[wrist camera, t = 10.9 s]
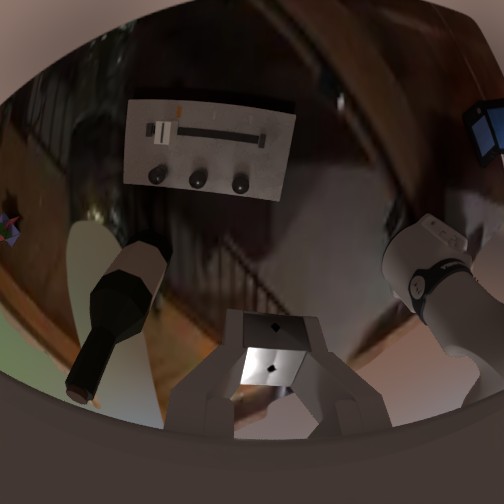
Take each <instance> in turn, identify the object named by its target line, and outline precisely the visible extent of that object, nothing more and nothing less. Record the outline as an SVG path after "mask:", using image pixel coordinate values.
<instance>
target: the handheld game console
mask: <svg viewBox="0 0 504 504" xmlns="http://www.w3.org/2000/svg"><path fill="white" fill-rule="evenodd" d="M463 121H464V123H465V126H466V128H467V131H468V133H469V136H470V138H471V141H472V144H473V147H474V149H475V152H476V155H477V158H478V161H479V164H480V166H481V167H482V168H485V167H487V166H488V165H489V163H490V162H491V161H492V160H493V159H494V158H495V157H496V156H497V155H501V154H504V98H501V99H493V100H486V101H478V102H477V103H476V104H475V105H473V106H472V107H471V108H470V109H469V110H468V111H466V112H465V113H464V114H463Z"/></svg>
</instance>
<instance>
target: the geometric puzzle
mask: <svg viewBox="0 0 504 504" xmlns="http://www.w3.org/2000/svg"><path fill="white" fill-rule="evenodd" d="M6 213H7V212H6ZM9 214H10V213H9ZM12 215H13V214H12ZM15 216H16V215H15ZM18 217H19V216H18ZM18 217H15V218H12V219H10V218H9V217H8V216H7V215H6V214H5V212H4V211H3V213H2V215H1V216H0V242H1V241H4V239H5V240H6V241H7V243H8V244H9V245H10V246H11V248H12V246H13V245H14V243H15V241H16V240H17V238H18V237H19V235H20V234H21V233H20V232H19V231H18V229H17V228H16V227H15V225H14V224H15V222H16V220H17V219H18ZM19 224H20V223H19ZM8 247H9V246H8Z"/></svg>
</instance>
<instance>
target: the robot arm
mask: <svg viewBox="0 0 504 504" xmlns="http://www.w3.org/2000/svg"><path fill="white" fill-rule="evenodd" d="M432 221H433V222H432ZM431 222H432V223H431ZM466 250H467V239H466V238H465V237H464V236H463V235H462V234H460V233H459V232H457V231H456V230H454V229H453V228H451V227H450V226H448V225H447V224H445V223H444V222H442V221H441V220H439V219H438V218H436V217H434V216H433V215H431V214H429V213H428V214H425V215H424V216H423V217H422V218H421V219H420V220H419V221H418V222H417V223H415V224H413V225H411V226H409V227H407V228H405V229H404V230H402V231H401V232H400V233H399V234H397V235H396V236H395V238H394V239H393V240H392V241H391V243H390V244H389V246H388V247H387V249H386V252H385V254H384V257H383V262H382V271H383V275H384V278H385V279H386V281H387V282H388V283H389V284H390V286H391V292H392V295H393V296H394V297H395V298H400V299H401V300H402V301H403V302H404V303H405V304H406V306H407V307H408V308H409V309H410V310H411V311H412V312H413V313H415V312H416V315H417V316H418V318H419V319H420V320H421V321H422V322H423V323H424V324H425V325H427V326H428V327H429V328H430V330H431V332H432V333H433V335H434V336H435V338H436V339H437V341H438V343H439V344H440V346H441V347H442V349H443V351H444V352H445V353H446V354H447V355H449V356H451V357H465V356H468V357H469V358H471V359H472V360H473V361H474V362H475V363H476V364H477V366H478V368H479V370H480V376H479V378H478V379H477V381H476V382H475V384H474V385H473V387H472V388H471V390H470V391H469V393H468V394H467V396H466V397H465V399H464V401H463V404H462V406H461V408H458V409H455V410H453V411H450V412H447V413H444V414H440V415H438V416H434V417H431V418H427V419H424V420H420V421H417V422H413V423H409V424H405V425H400V426H396V427H392V424H391V421H390V418H389V415H388V412H387V409H386V407H385V404H384V401H383V398H382V395H381V394H380V393H378V392H377V391H376V390H375V389H374V388H373V387H371V386H370V385H369V384H368V383H367V382H366V381H364V380H363V379H362V378H361V377H360V376H359V375H358V374H357V373H355V372H354V371H353V370H352V369H351V368H350V367H349V366H347V365H346V364H345V363H344V362H343V361H342V360H341V359H339V358H338V357H337V356H336V355H335V354H334V353H333V352H328V349H327V346H326V343H325V339H324V336H323V333H322V330H321V326H320V323H319V320H318V318H317V317H311V316H302V317H301V316H290V315H277V314H268V313H259V312H251V311H244V310H243V311H242V310H234V309H227V312H226V319H225V326H224V334H223V342H222V345H219V346H218V347H217V348H216V349H215V350H214V351H213V352H212V353H211V354H210V355H208V356H207V357H206V358H205V359H204V360H203V361H202V362H201V363H200V364H199V365H198V366H197V367H196V368H195V369H193V370H192V371H191V372H190V373H189V374H188V375H187V376H186V377H185V378H184V379H183V380H181V381H180V382H179V383H178V384H177V385H176V386H175V387H174V388H173V389H171V394H170V399H169V404H168V409H167V414H166V419H165V424H164V430H163V429H158V428H153V427H148V426H143V425H139V424H135V423H131V422H127V421H123V420H119V419H116V418H112V417H109V416H106V415H102V414H99V413H95V412H93V411H89V410H87V409H84V408H81V407H78V406H75V405H73V404H70V403H67V402H65V401H62V400H60V399H57V398H55V397H53V396H50V395H48V394H46V393H43V392H41V391H39V390H37V389H35V388H32V387H31V386H28V385H26V384H24V383H22V382H20V381H18V380H17V379H15V378H13V377H11V376H9V375H7V374H5V373H4V372H2V371H0V504H504V304H503V303H501V302H499V301H498V300H496V299H495V298H494V297H493V296H491V294H489V293H488V292H487V291H486V290H485V289H484V288H483V287H482V286H481V285H480V284H479V283H478V280H477V281H476V278H473V275H472V273H471V270H470V268H471V263H472V259H471V255H470V254H469V253H468V252H466ZM240 384H252V385H274V386H291V388H292V390H293V391H294V392H295V394H296V395H297V396H298V397H299V399H300V400H301V401H302V403H303V404H304V405H305V406H306V408H307V409H308V410H309V412H310V413H311V414H312V415H313V417H314V418H315V419H316V420H317V422H318V423H319V425H318V426H317V427H316V428H315V430H314V431H313V432H312V433H311V434H310V436H309V437H308V439H292V440H291V439H290V440H255V439H254V440H253V439H234V403H233V402H232V401H231V400H230V398H231V397H232V395H233V394H234V393H235V391H236V390H237V389H238V387H239V386H240Z"/></svg>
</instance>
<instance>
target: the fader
mask: <svg viewBox="0 0 504 504" xmlns="http://www.w3.org/2000/svg"><path fill="white" fill-rule="evenodd" d="M178 122H179V121H172V120H162V121H156V128H155V139H154V144H165V145H169V144H172V143H174V142H176V140H177V130H178Z"/></svg>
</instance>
